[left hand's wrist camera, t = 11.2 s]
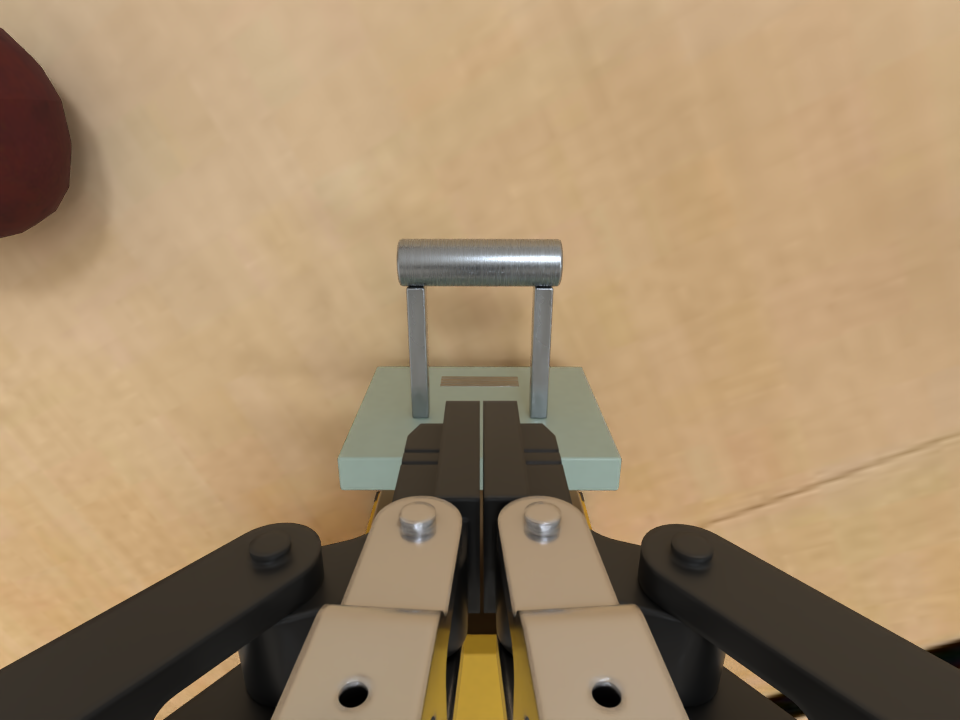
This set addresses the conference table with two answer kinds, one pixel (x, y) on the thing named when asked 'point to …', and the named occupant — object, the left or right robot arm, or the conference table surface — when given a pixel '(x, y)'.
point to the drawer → (478, 378)
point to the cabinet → (479, 668)
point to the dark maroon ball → (29, 141)
